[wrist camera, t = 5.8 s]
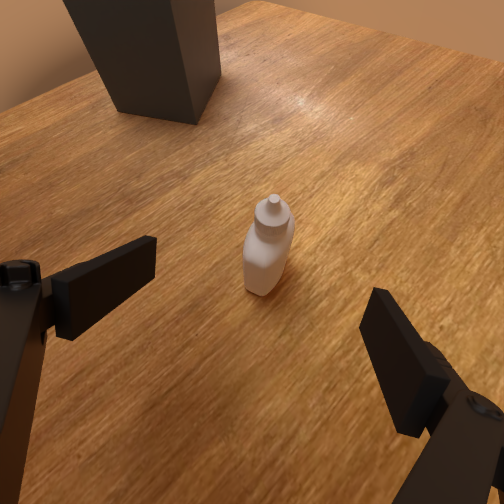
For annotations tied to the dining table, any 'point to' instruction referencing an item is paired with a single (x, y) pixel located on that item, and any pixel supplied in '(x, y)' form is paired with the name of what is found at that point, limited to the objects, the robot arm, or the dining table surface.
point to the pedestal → (152, 53)
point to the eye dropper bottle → (267, 245)
